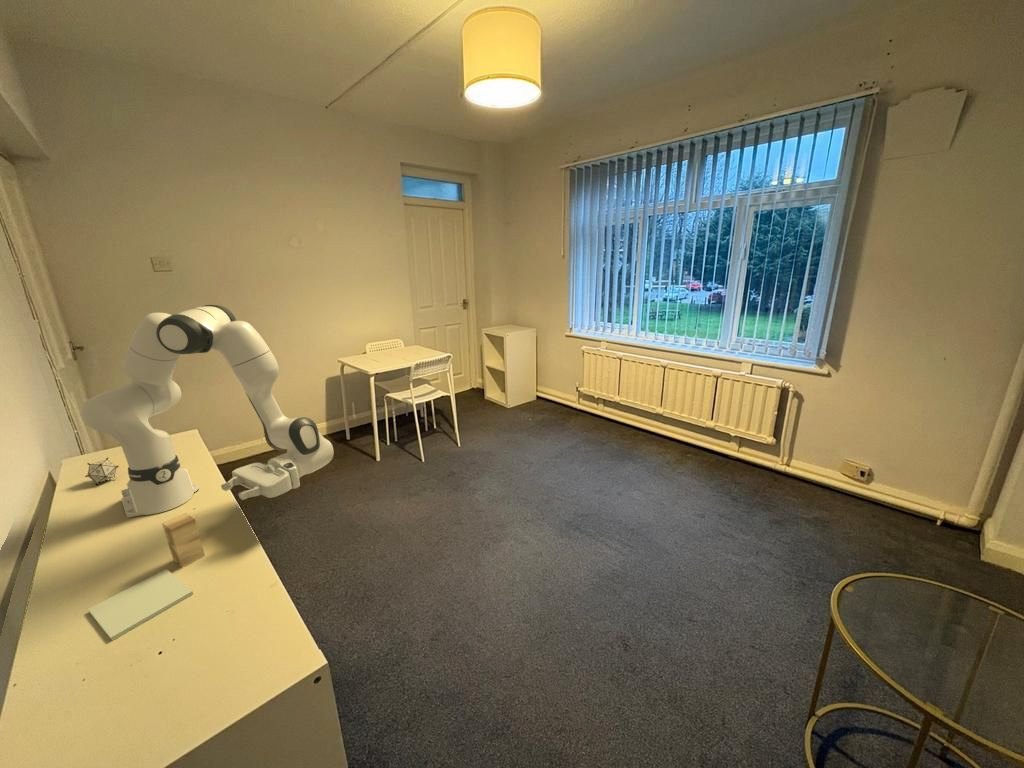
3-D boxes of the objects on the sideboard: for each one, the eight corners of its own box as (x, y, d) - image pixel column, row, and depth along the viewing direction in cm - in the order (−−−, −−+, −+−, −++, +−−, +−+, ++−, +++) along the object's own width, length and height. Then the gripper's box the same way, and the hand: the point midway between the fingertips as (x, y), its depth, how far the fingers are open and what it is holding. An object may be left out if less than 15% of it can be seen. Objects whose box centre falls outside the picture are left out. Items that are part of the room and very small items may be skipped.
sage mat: (89, 612, 89) (87, 609, 88) (167, 571, 100) (166, 569, 100) (111, 640, 82) (110, 637, 81) (193, 593, 93) (192, 591, 93)
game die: (111, 488, 148) (122, 460, 151) (115, 486, 142) (126, 458, 146) (77, 485, 142) (89, 456, 145) (79, 483, 136) (91, 453, 140)
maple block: (173, 560, 104) (162, 523, 101) (196, 549, 108) (185, 512, 105) (182, 567, 101) (170, 529, 98) (205, 555, 105) (194, 518, 102)
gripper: (260, 453, 127) (210, 473, 115) (299, 468, 116) (247, 491, 105) (264, 472, 128) (215, 493, 117) (303, 488, 118) (253, 512, 107)
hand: (231, 492), depth 111 cm, fingers open, 8 cm apart
